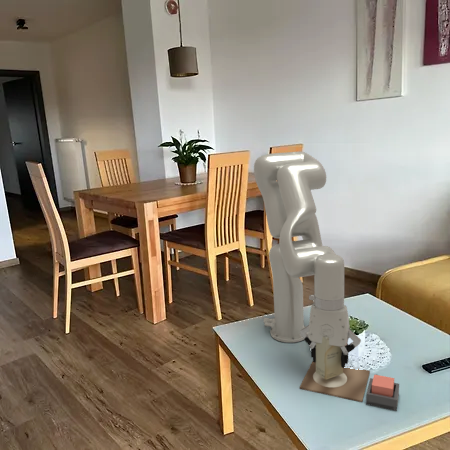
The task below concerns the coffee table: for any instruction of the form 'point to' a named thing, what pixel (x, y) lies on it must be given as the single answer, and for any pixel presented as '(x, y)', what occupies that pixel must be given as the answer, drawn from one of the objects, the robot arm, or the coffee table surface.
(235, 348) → the coffee table surface
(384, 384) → the button
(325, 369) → the skincare box
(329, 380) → the board
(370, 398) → the button housing
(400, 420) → the coffee table surface
